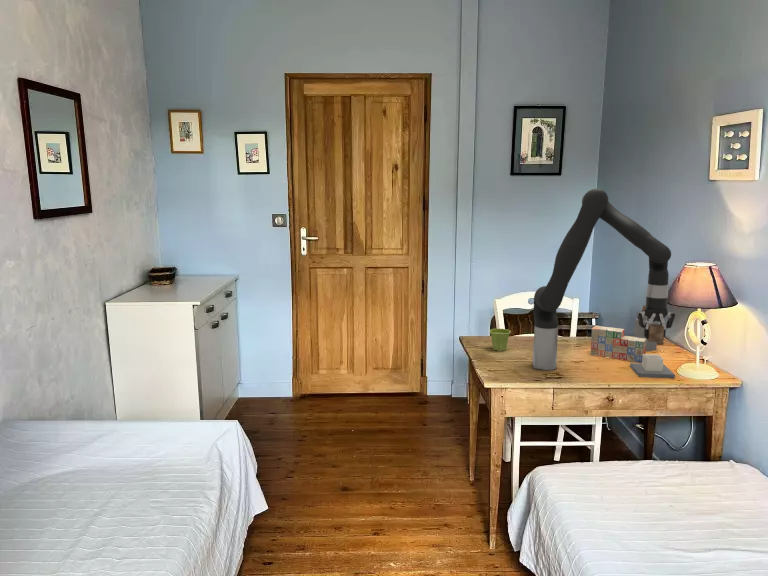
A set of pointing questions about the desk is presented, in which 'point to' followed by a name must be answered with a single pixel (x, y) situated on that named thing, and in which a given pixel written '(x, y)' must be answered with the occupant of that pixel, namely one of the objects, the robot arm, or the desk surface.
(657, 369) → the base plate
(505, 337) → the plant pot
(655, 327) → the walnut block
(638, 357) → the stack of blocks
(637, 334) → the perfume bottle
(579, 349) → the desk surface
